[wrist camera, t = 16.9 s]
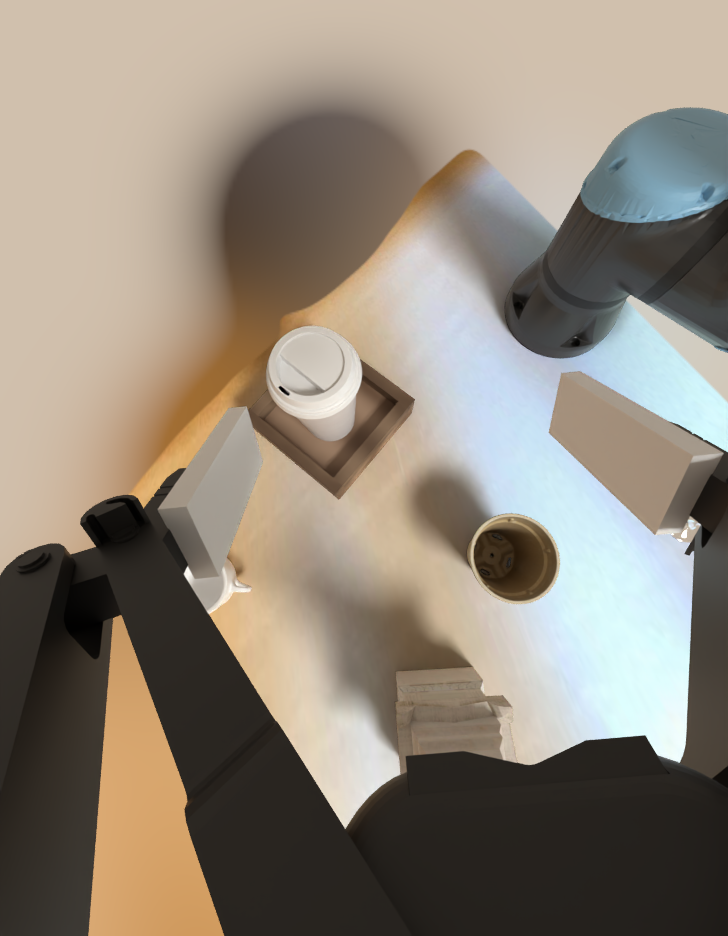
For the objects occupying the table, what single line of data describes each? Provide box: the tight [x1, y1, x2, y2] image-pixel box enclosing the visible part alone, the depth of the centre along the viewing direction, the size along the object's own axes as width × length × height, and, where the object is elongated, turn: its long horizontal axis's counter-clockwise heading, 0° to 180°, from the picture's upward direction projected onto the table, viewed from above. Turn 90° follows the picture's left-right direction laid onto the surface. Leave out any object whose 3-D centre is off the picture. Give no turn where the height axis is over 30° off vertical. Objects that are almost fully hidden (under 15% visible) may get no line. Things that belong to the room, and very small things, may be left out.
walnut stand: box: [248, 359, 415, 499], centre depth 48 cm, size 16×16×5 cm
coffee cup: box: [266, 326, 362, 441], centre depth 40 cm, size 10×10×15 cm
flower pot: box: [467, 514, 560, 604], centre depth 42 cm, size 9×9×9 cm
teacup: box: [184, 558, 252, 614], centre depth 44 cm, size 10×8×5 cm
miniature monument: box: [395, 667, 518, 774], centre depth 28 cm, size 10×10×30 cm
